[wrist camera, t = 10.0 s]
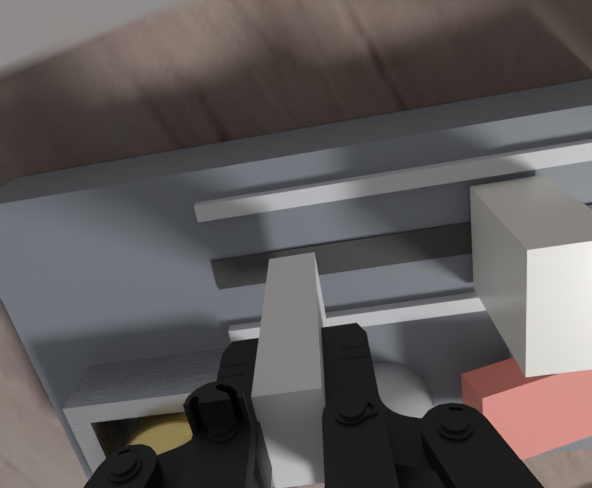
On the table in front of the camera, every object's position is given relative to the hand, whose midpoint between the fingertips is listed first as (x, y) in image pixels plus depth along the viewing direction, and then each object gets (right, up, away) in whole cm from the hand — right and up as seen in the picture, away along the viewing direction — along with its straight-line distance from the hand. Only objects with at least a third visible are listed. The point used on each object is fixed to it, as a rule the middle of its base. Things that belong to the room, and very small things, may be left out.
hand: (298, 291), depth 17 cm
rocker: (+9, -4, +2) cm, 10 cm away
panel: (+1, -1, +7) cm, 7 cm away
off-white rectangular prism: (+7, +2, +1) cm, 8 cm away
